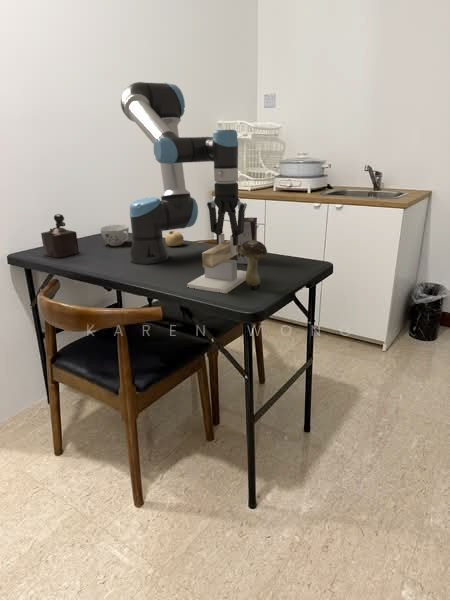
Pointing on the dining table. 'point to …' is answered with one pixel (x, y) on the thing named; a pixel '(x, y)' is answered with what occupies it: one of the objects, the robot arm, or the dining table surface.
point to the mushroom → (253, 260)
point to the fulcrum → (220, 278)
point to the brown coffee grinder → (59, 240)
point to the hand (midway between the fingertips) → (227, 254)
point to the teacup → (115, 234)
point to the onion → (174, 238)
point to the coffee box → (247, 237)
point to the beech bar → (217, 255)
